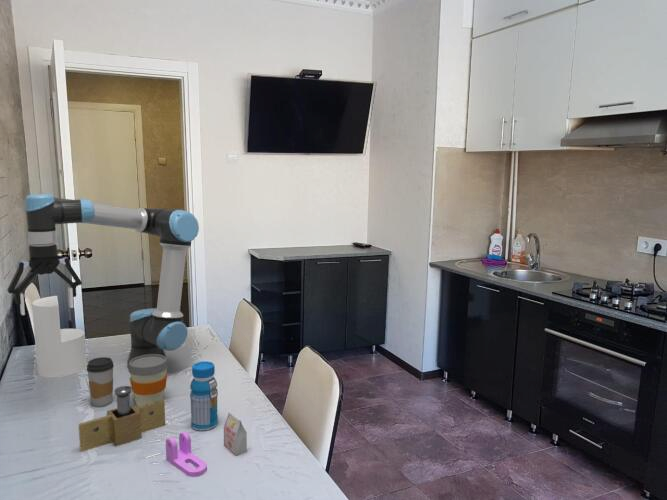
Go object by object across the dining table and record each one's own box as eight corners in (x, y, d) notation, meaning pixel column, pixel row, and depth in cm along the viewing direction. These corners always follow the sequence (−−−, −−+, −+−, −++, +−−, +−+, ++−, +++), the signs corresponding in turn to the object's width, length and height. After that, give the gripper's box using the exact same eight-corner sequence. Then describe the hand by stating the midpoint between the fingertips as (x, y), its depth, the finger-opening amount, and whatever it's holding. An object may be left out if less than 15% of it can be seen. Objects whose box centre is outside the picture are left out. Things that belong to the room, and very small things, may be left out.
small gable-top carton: (235, 441, 148) (234, 410, 146) (246, 451, 143) (246, 419, 141) (224, 445, 146) (223, 414, 144) (235, 456, 141) (235, 423, 139)
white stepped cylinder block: (37, 381, 186) (31, 308, 182) (37, 365, 201) (32, 298, 196) (88, 372, 195) (84, 303, 190) (85, 357, 210) (81, 293, 205)
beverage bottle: (194, 434, 152) (192, 372, 148) (188, 421, 159) (186, 362, 156) (221, 428, 155) (220, 367, 152) (214, 416, 163) (213, 358, 160)
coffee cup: (120, 399, 173) (118, 358, 170) (102, 410, 165) (100, 367, 163) (101, 395, 175) (99, 355, 173) (83, 405, 168) (80, 363, 165)
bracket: (166, 460, 138) (165, 437, 137) (183, 451, 142) (183, 429, 141) (193, 479, 130) (192, 455, 129) (210, 470, 134) (210, 446, 133)
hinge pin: (130, 430, 153) (128, 384, 150) (135, 436, 149) (133, 389, 147) (115, 435, 150) (112, 388, 148) (119, 441, 146) (117, 394, 144)
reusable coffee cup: (176, 398, 175) (175, 357, 172) (149, 413, 164) (147, 370, 161) (149, 390, 180) (148, 351, 178) (121, 405, 169) (119, 363, 166)
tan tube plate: (160, 419, 160) (159, 396, 158) (169, 428, 154) (168, 404, 153) (77, 445, 144) (75, 419, 143) (84, 456, 139) (82, 430, 137)
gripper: (83, 239, 165) (87, 301, 168) (-7, 246, 149) (-1, 314, 152) (89, 242, 159) (93, 306, 162) (-4, 249, 143) (2, 320, 146)
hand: (47, 310), depth 157 cm, fingers open, 13 cm apart
